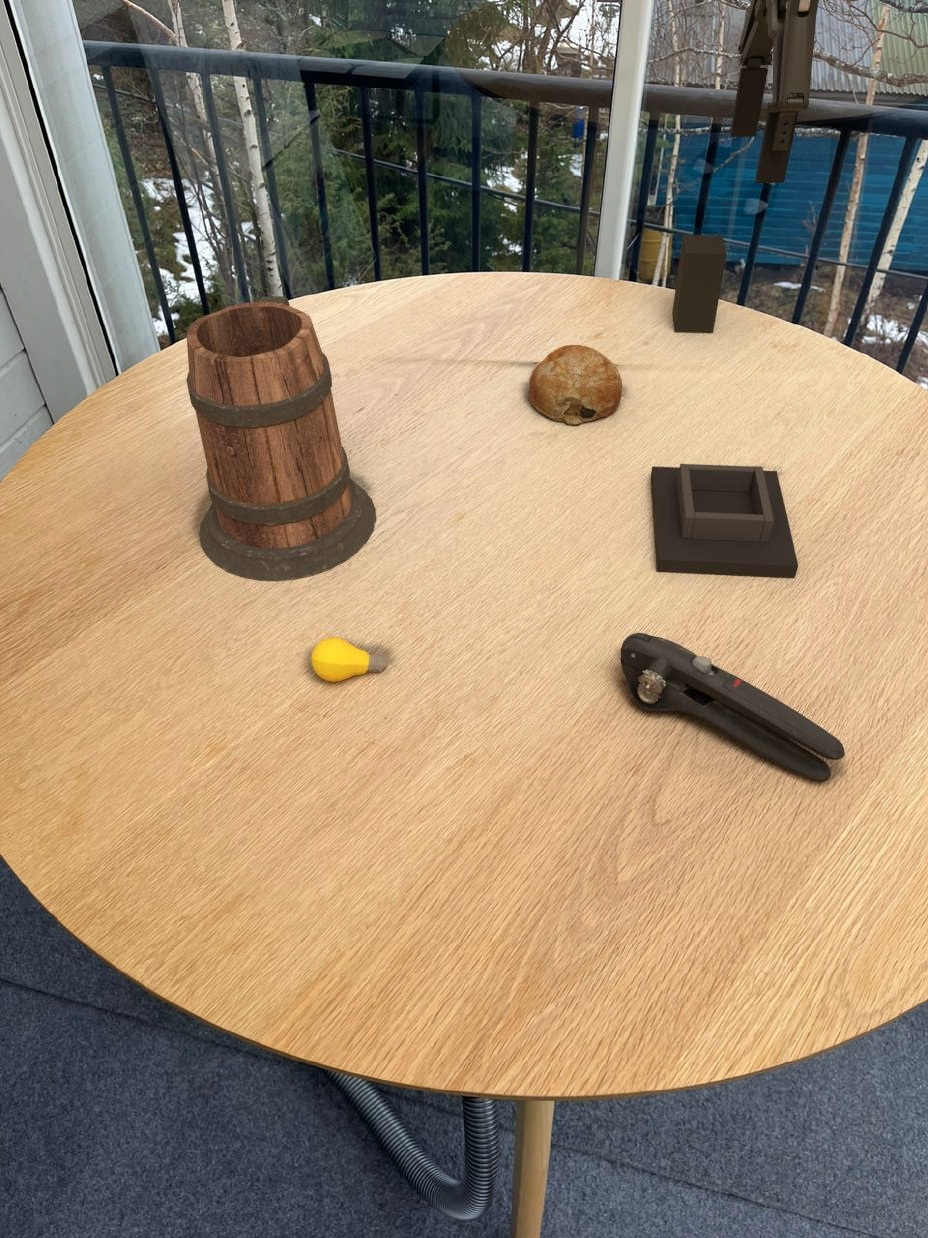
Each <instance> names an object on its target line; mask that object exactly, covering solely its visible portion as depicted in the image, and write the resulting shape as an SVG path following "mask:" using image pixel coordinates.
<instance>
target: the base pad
mask: <svg viewBox="0 0 928 1238" xmlns="http://www.w3.org/2000/svg"><path fill="white" fill-rule="evenodd" d="M650 491H651V505H652V521H653V536H654V549H655V551H654V552H655V565H656V568H655V569H656V572H657V573H678V574H679V573H681V574H699V575H700V574H702V575H720V576H722V575H723V576H742V577H743V576H744V577H761V578H762V577H764V578H782V579H783V578H785V579H795V578H796V576H797V572H798V568H799V561H798V558H797V554H796V549H795V544H794V540H793V536H792V532H791V527H790V523H789V518H788V513H787V510H786V504H785V501H784V496H783V493H782V488H781V483H780V479H779V474H778V471H777V470H764V467H763V466H757V465H756V466H755V465H754V466H753V465H752V466H750V465H728V464H727V465H726V464H724V465H723V464H700V463H699V464H697V463H689V464H688V463H680V464H679V467H678V466H652V467H651V472H650Z"/></svg>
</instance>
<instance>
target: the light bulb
mask: <svg viewBox="0 0 928 1238" xmlns="http://www.w3.org/2000/svg"><path fill="white" fill-rule="evenodd" d="M310 661H311V666H312V668H313V671H314V672H315V673H316V674H317V675H318V677H320V678H321V679H323V680H324V681H328V682H340V681H343V680H346V679H348V678H351V677H353V676H356V675H357V676H358V675H365V673H367V672H372V673H373V672H374V673H380V674H381V672H382V671H384V669H386V668H387V664H388V661H386V660H385V658H384V657H383V656H382V655H381V654H380V655H379V654H372V653H371V654H369V652H367V651H366V650H364V649H360V648H357V646H354V645H353V644H351V643H350V642H348V641H346V640H345V639H343V638H341V637H336V636H335V637H327V638H325V639H322V640H321V641H320V642H318V643H317V644H316V645H315V647H314V648H313V650H312V654H311V660H310Z"/></svg>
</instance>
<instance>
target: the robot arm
mask: <svg viewBox="0 0 928 1238" xmlns="http://www.w3.org/2000/svg"><path fill="white" fill-rule="evenodd" d="M819 3H820V0H750V4H749V7H748V11H747V13H746V14H747V15H746V18H745V21H744V26H743V29H742V33H741V37H740V40H739V43H738V46H737V52H738V55H740V59H739V62H740V66H741V68H740V69H739V77H738V82H737V89H736V94H735V101H734V102H735V103H734V107H733V113H732V119H731V124H730V125H731V127H730V133H729V136H730V137H731V138H747V137H749V138H752V137H757V135H758V134H757V132H758V129H759V122H760V118H761V112H762V106H763V102H764V95H765V89H766V83H767V79H768V72H769V69H768V68H767V67H765V66H772V101H771V102H767V104H766V106H764V109H763V111H764V114H766V119H765V124H764V129H763V135H762V141H761V145H760V150H759V151H760V152H759V157H758V161H757V167H756V173H755V179H754V182H755V184H784V183H785V180H786V175H787V171H788V166H789V162H790V161H789V160H790V155H791V151H792V145H793V142H794V136H795V133H796V132H795V131H796V128H797V127H796V126H797V121H798V117H799V113H801V112H806V111H808V109H809V107H810V93H811V80H812V72H813V71H812V70H813V59H814V47H815V37H816V23H817V14H818V9H819ZM771 52H772V53H771ZM763 66H764V67H763Z"/></svg>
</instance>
